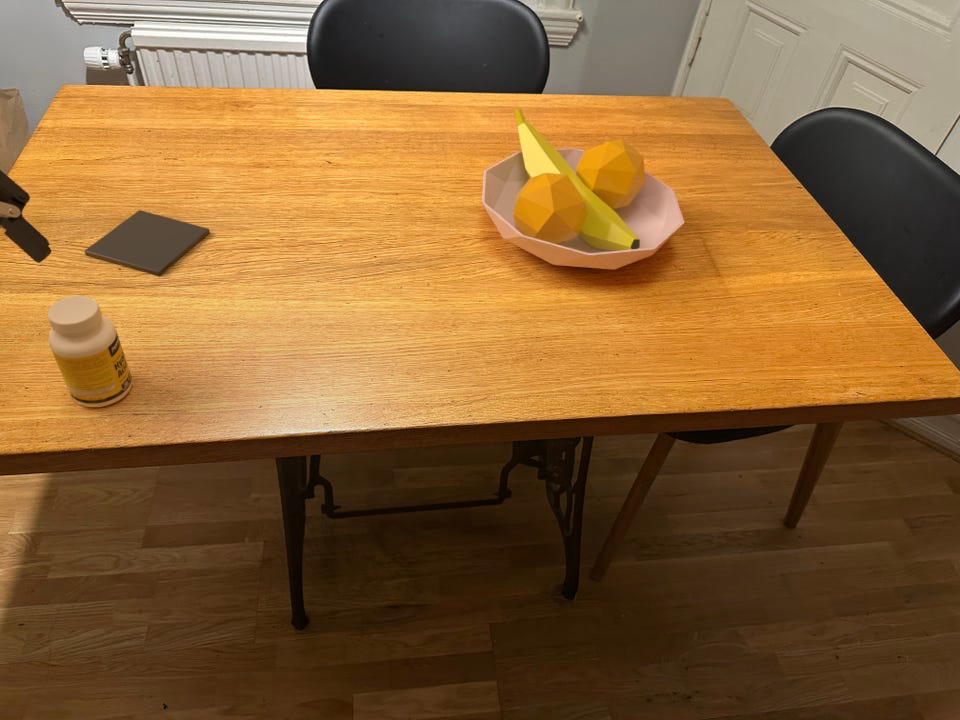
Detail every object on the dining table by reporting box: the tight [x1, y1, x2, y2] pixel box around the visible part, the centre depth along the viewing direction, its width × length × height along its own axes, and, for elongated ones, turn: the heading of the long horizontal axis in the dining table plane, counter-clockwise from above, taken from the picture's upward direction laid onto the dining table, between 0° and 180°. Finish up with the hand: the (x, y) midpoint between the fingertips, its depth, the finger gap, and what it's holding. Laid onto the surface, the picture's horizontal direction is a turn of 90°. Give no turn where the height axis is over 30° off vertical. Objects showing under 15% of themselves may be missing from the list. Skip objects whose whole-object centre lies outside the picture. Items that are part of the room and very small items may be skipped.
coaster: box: [83, 209, 211, 277], centre depth 84 cm, size 10×10×1 cm
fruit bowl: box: [481, 108, 686, 271], centre depth 91 cm, size 28×27×11 cm
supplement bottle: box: [47, 295, 133, 408], centre depth 63 cm, size 5×5×10 cm
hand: (9, 283), depth 60 cm, fingers open, 8 cm apart
